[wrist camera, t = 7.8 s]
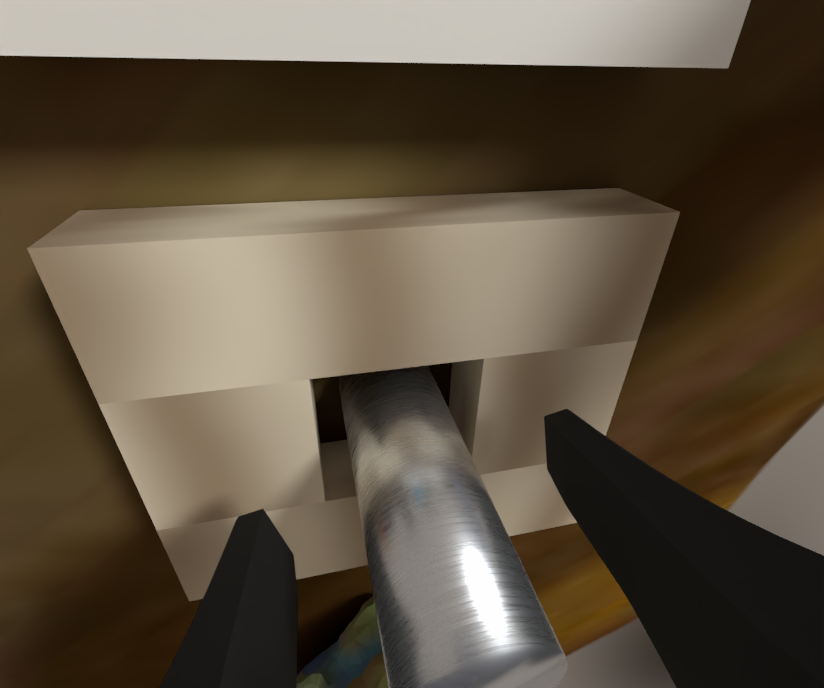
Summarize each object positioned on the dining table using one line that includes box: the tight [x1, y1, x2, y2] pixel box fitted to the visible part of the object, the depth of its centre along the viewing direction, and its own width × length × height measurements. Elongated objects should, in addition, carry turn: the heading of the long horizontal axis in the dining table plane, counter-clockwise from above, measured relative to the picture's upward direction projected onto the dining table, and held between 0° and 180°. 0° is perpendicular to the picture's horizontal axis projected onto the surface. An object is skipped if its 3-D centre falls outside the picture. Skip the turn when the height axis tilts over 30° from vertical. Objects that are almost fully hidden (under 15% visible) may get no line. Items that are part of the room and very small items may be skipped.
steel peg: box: [338, 365, 568, 688], centre depth 11 cm, size 3×3×9 cm
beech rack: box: [27, 188, 680, 601], centre depth 14 cm, size 14×12×2 cm
